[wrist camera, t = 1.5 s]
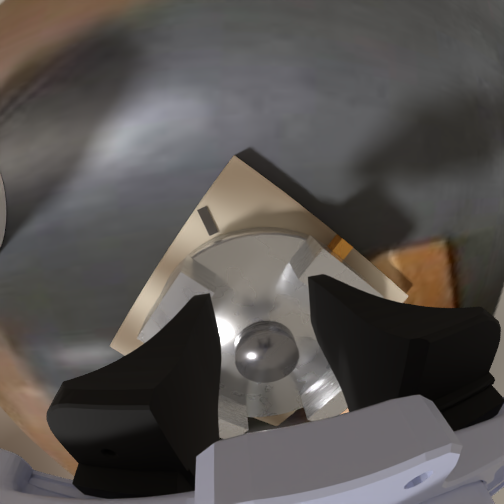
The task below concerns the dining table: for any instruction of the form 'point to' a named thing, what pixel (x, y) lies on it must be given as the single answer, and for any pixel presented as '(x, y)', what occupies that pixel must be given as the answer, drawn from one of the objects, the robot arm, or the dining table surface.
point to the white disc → (262, 320)
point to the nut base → (231, 219)
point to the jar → (2, 211)
